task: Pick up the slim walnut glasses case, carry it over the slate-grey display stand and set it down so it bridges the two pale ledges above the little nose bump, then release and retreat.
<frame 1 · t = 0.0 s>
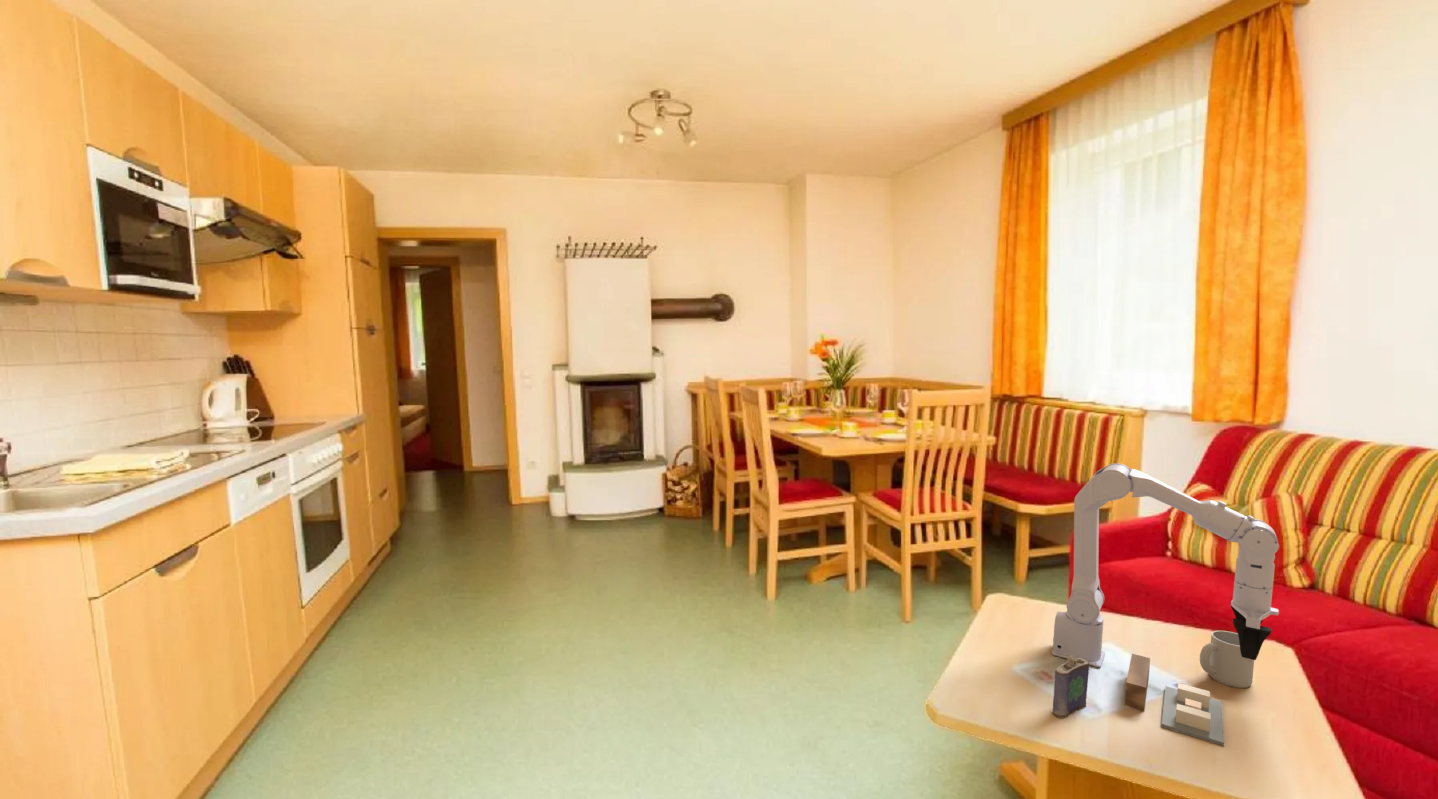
hand: (1247, 650, 124), 10 cm above the table, fingers open, 7 cm apart
flask: (1068, 710, 122), on the table
stand: (1192, 715, 120), on the table
cup: (1222, 680, 133), on the table
case: (1136, 693, 128), on the table
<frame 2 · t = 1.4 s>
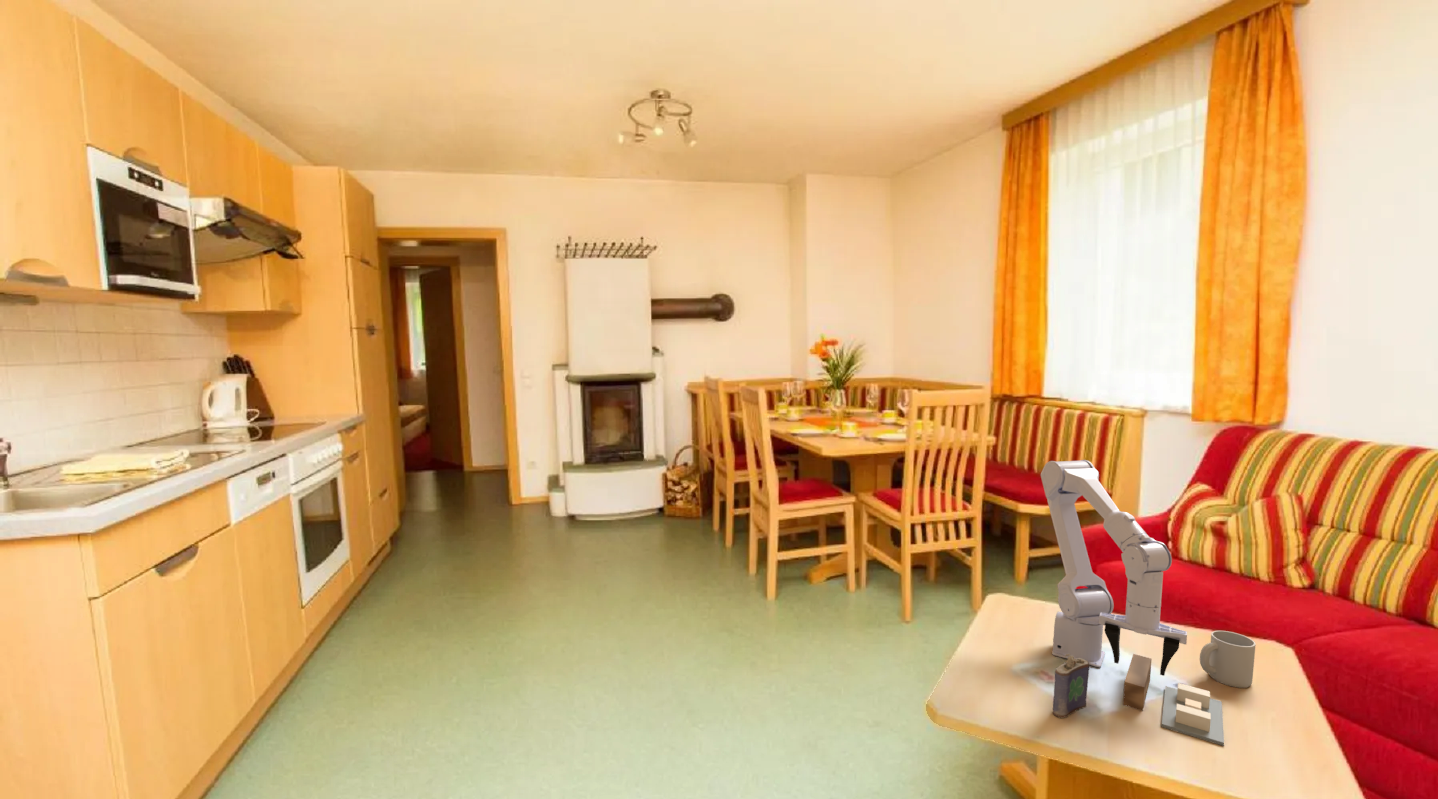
hand: (1139, 667, 127), 5 cm above the table, fingers open, 7 cm apart
nothing on the table moved.
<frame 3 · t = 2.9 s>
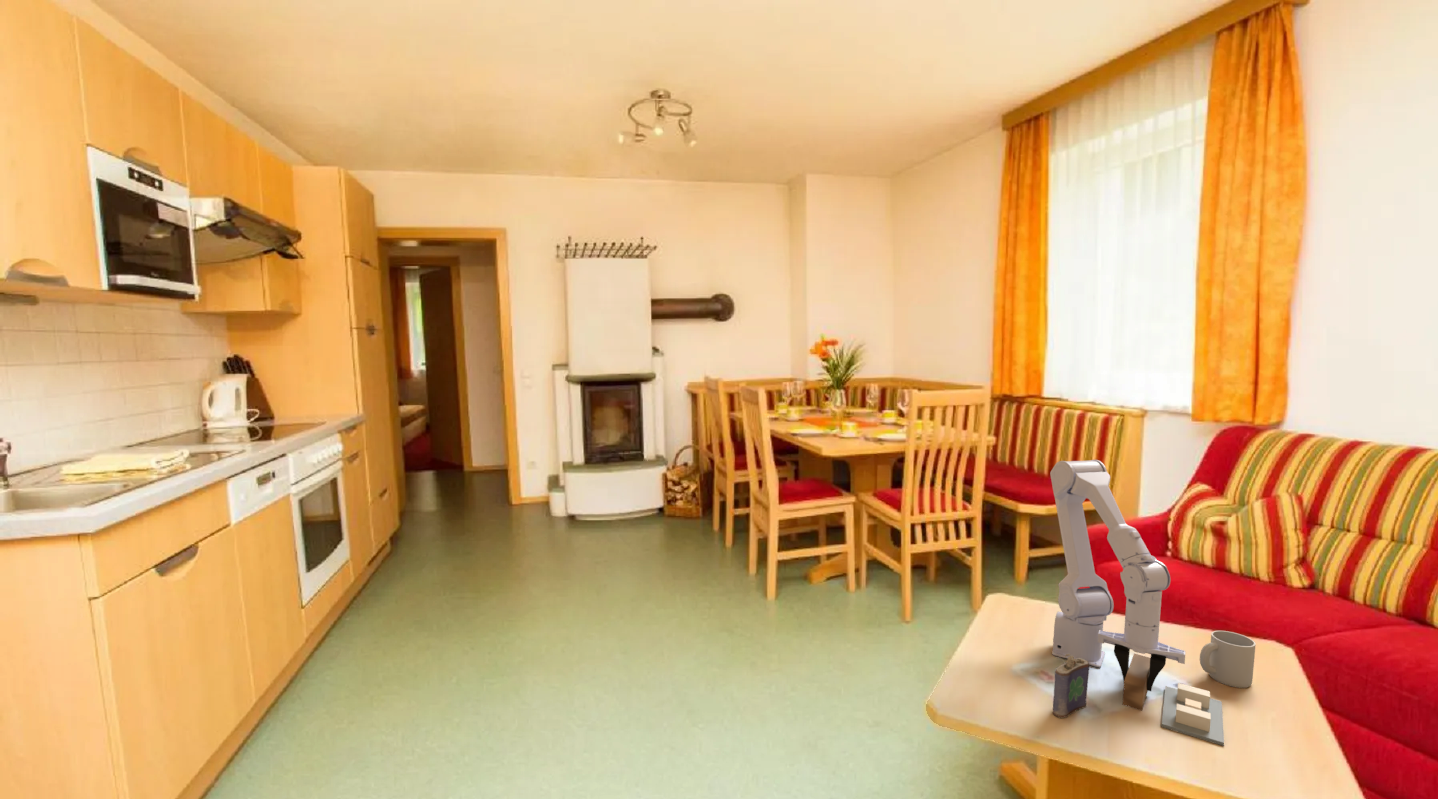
hand: (1137, 685, 128), 1 cm above the table, fingers closed on case, 3 cm apart
case: (1137, 692, 128), on the table, touching gripper
everything else where it was.
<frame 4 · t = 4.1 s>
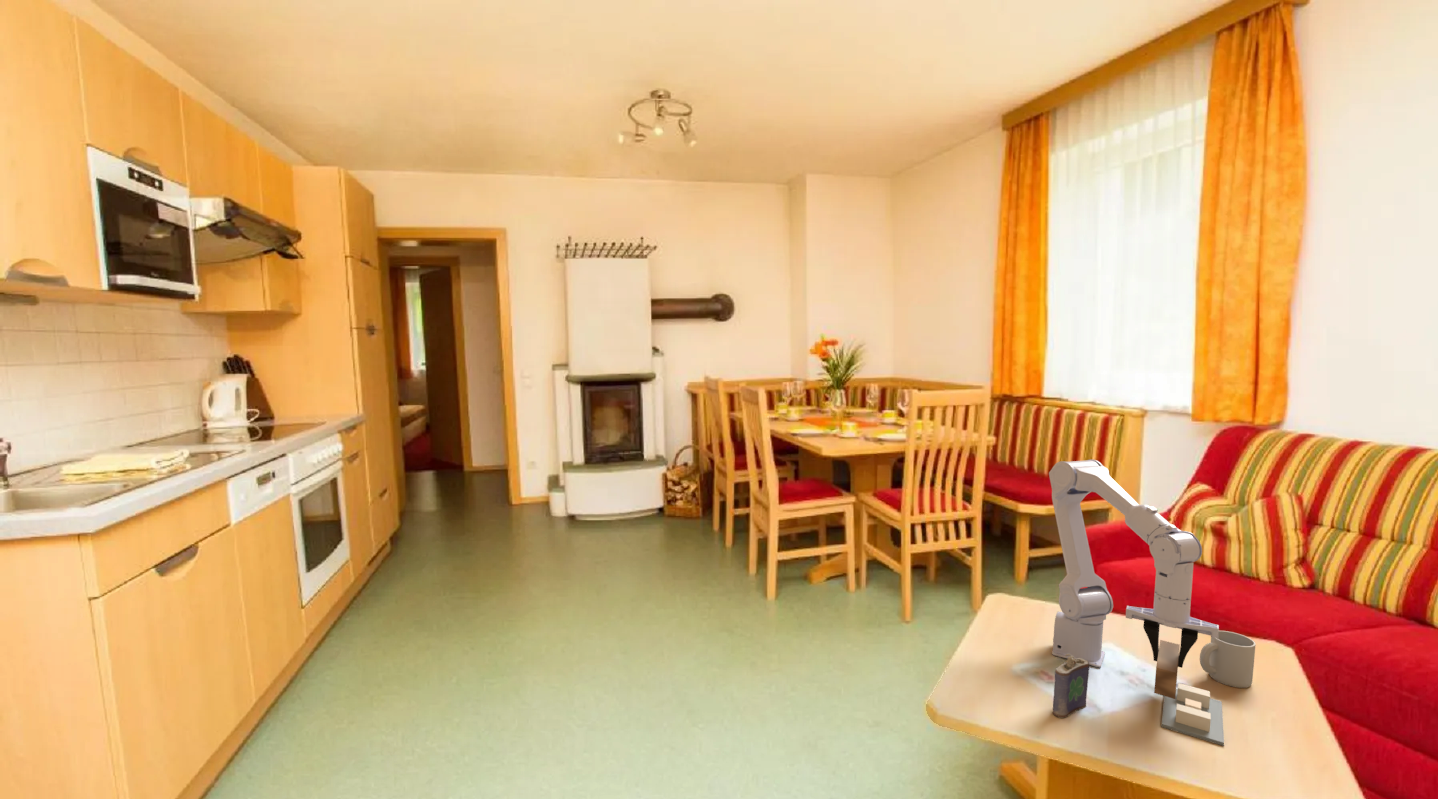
hand: (1168, 662, 123), 9 cm above the table, fingers closed on case, 3 cm apart
case: (1166, 680, 123), point 5 cm above the table, touching gripper
everything else where it was.
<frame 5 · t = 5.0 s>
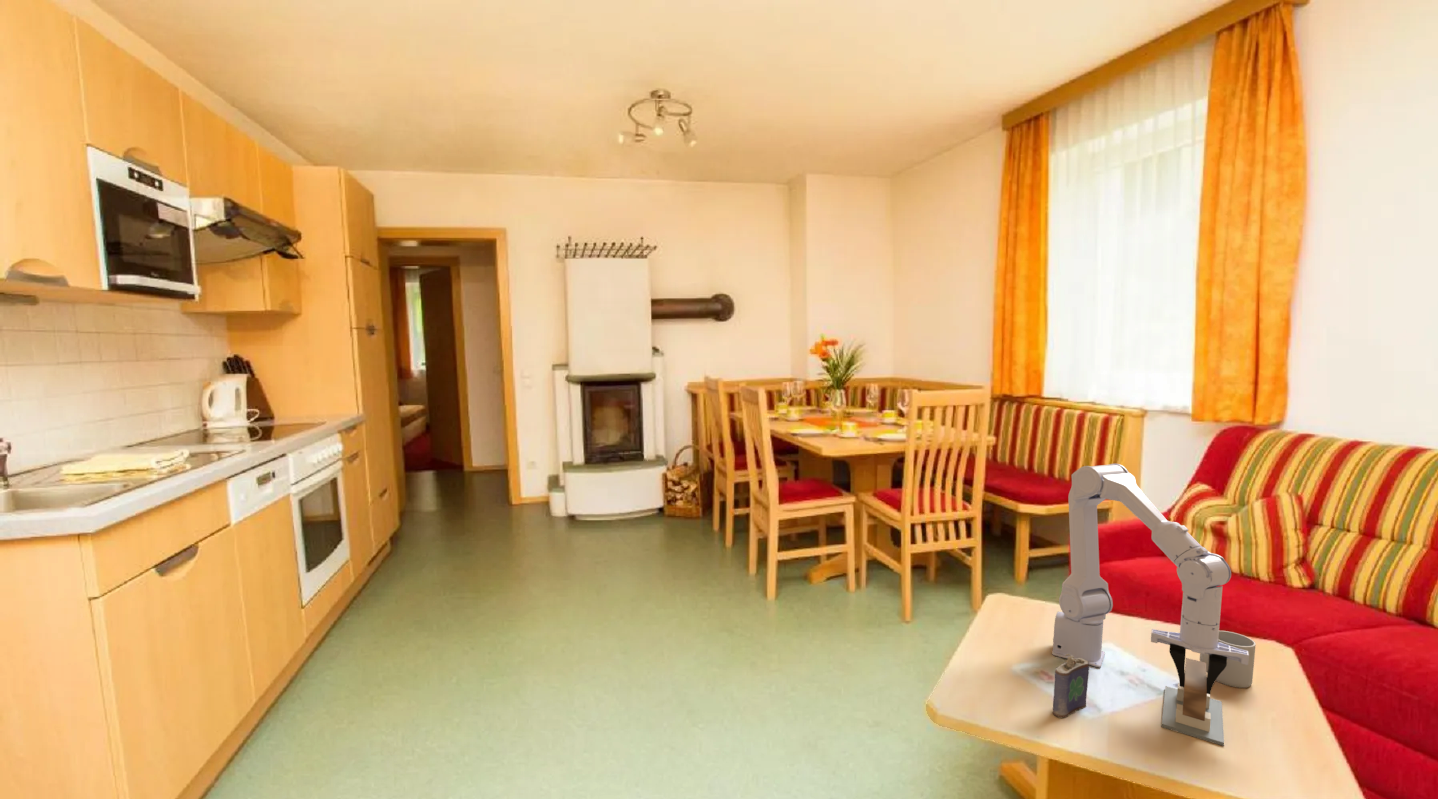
hand: (1194, 688, 119), 5 cm above the table, fingers closed on case, 3 cm apart
case: (1193, 700, 120), point 3 cm above the table, touching gripper, stand
everything else where it was.
when the fingers open (5 cm above the table, at t = 5.7 s): case stays where it is, resting on stand.
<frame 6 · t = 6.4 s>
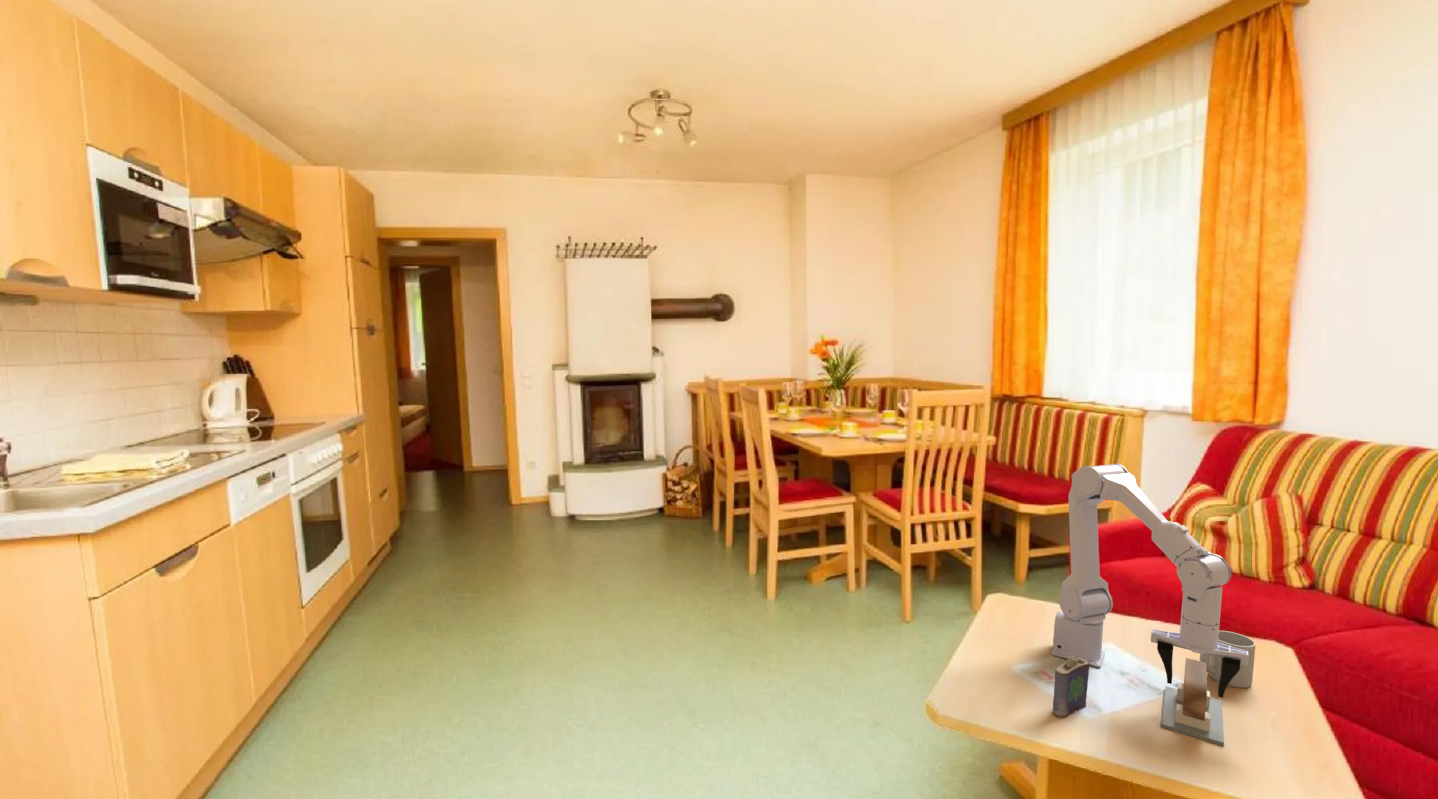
hand: (1194, 688, 119), 5 cm above the table, fingers open, 7 cm apart
case: (1193, 700, 120), point 3 cm above the table, touching stand
everything else where it was.
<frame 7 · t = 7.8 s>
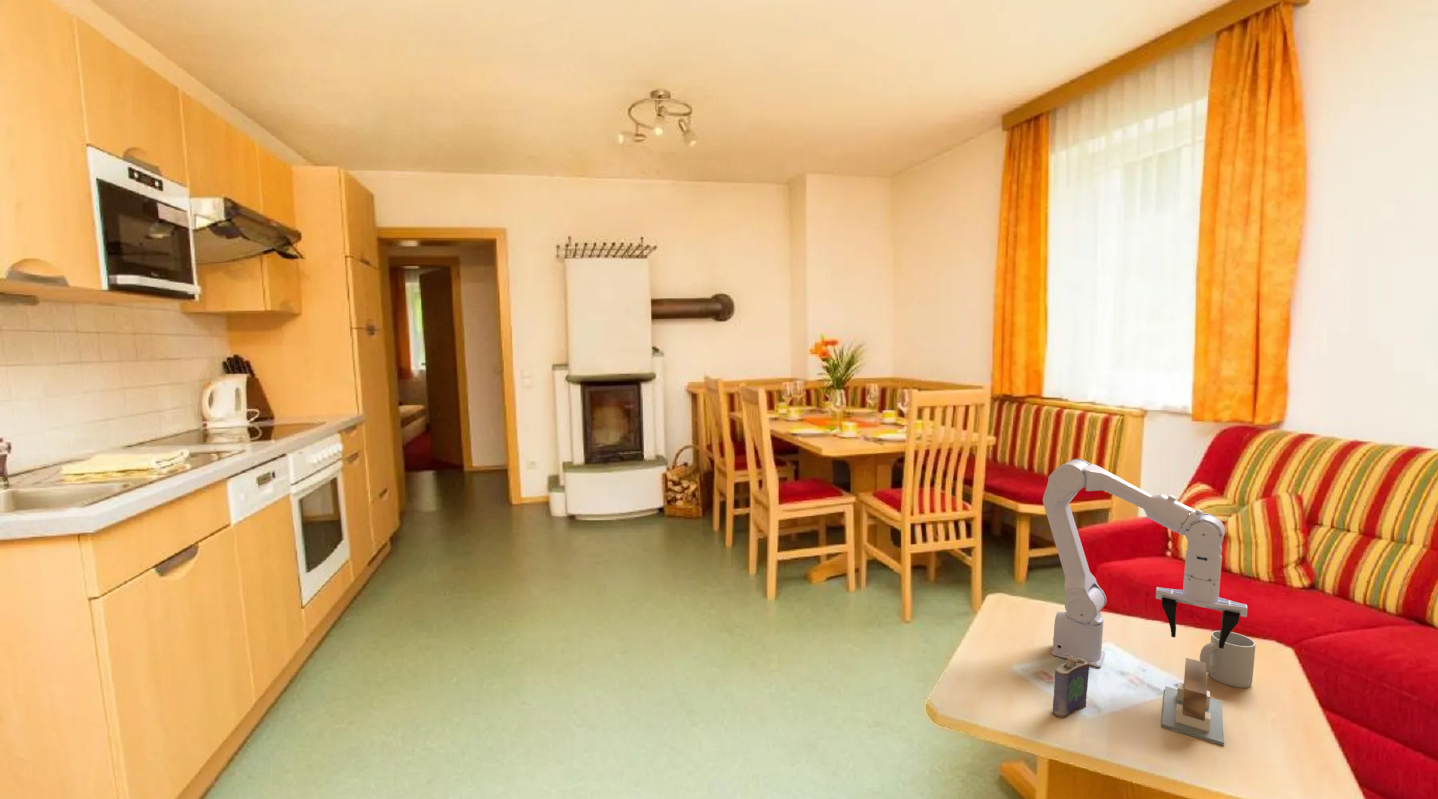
hand: (1196, 640, 128), 10 cm above the table, fingers open, 7 cm apart
nothing on the table moved.
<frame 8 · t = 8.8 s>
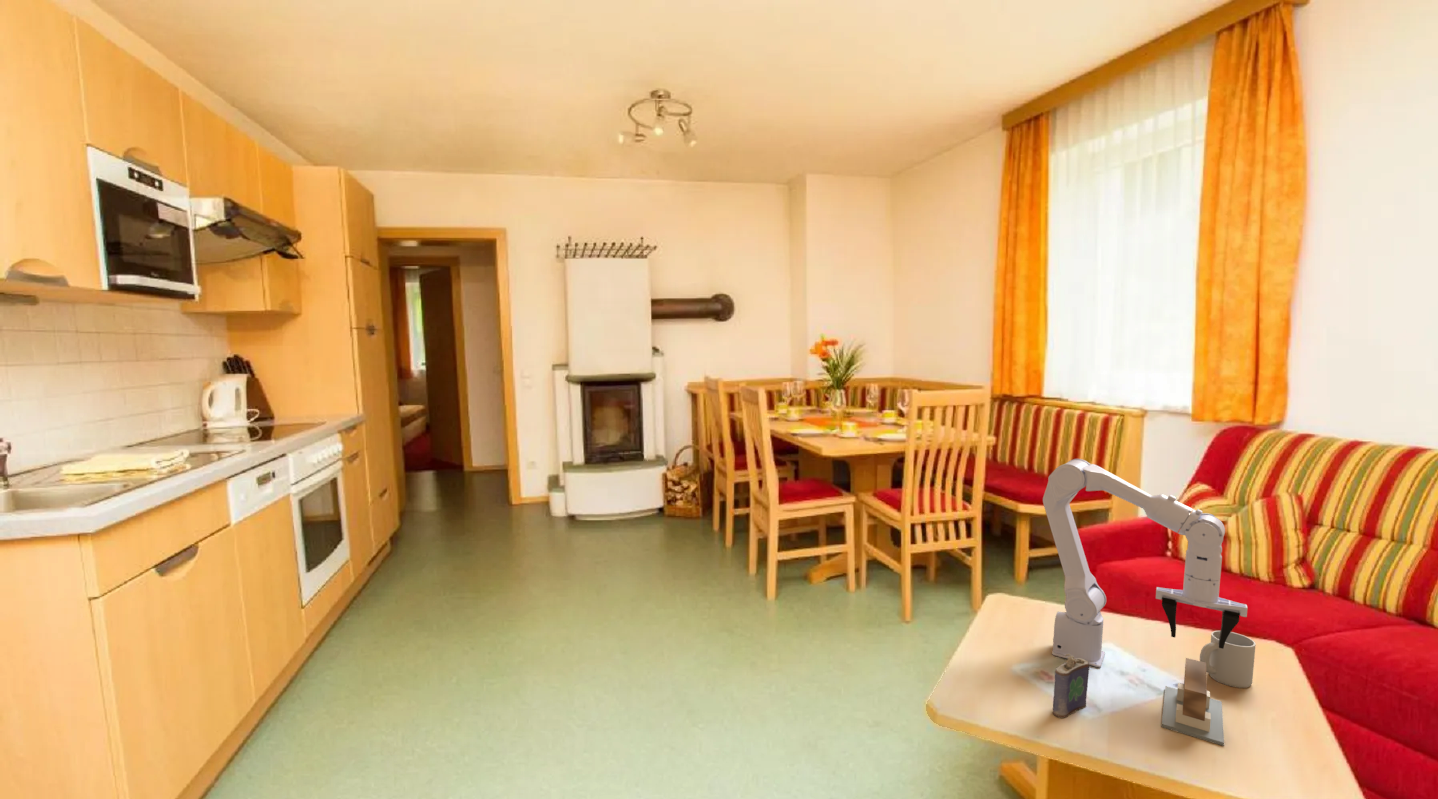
hand: (1196, 640, 128), 10 cm above the table, fingers open, 7 cm apart
nothing on the table moved.
at the end: case 0.0 cm off-centre on the stand, point 3.0 cm above the stand's base; case tilted 0°; the gripper is holding nothing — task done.
